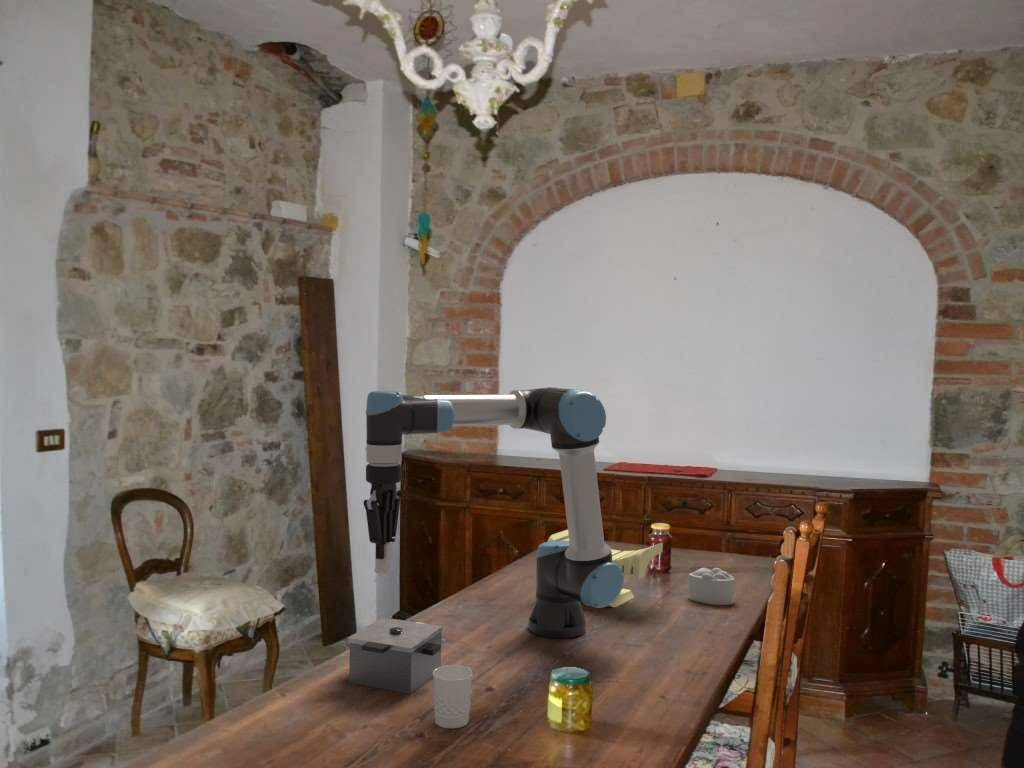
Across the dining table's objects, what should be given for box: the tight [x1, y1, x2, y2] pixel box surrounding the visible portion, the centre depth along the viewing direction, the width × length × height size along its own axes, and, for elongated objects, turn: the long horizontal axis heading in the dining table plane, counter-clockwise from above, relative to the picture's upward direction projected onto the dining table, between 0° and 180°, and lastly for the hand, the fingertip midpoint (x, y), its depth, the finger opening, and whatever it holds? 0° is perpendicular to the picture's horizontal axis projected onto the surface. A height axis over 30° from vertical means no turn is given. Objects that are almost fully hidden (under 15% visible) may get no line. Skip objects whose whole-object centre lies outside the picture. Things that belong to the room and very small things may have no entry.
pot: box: [348, 630, 443, 695], centre depth 199 cm, size 20×15×9 cm
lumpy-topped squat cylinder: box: [687, 567, 736, 606], centre depth 264 cm, size 10×13×9 cm
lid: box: [347, 617, 443, 654], centre depth 197 cm, size 15×19×2 cm
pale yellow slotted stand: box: [546, 528, 664, 608], centre depth 261 cm, size 30×16×18 cm, turn 57°
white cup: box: [432, 664, 474, 729], centre depth 176 cm, size 8×8×10 cm
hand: (382, 572), depth 191 cm, fingers closed
